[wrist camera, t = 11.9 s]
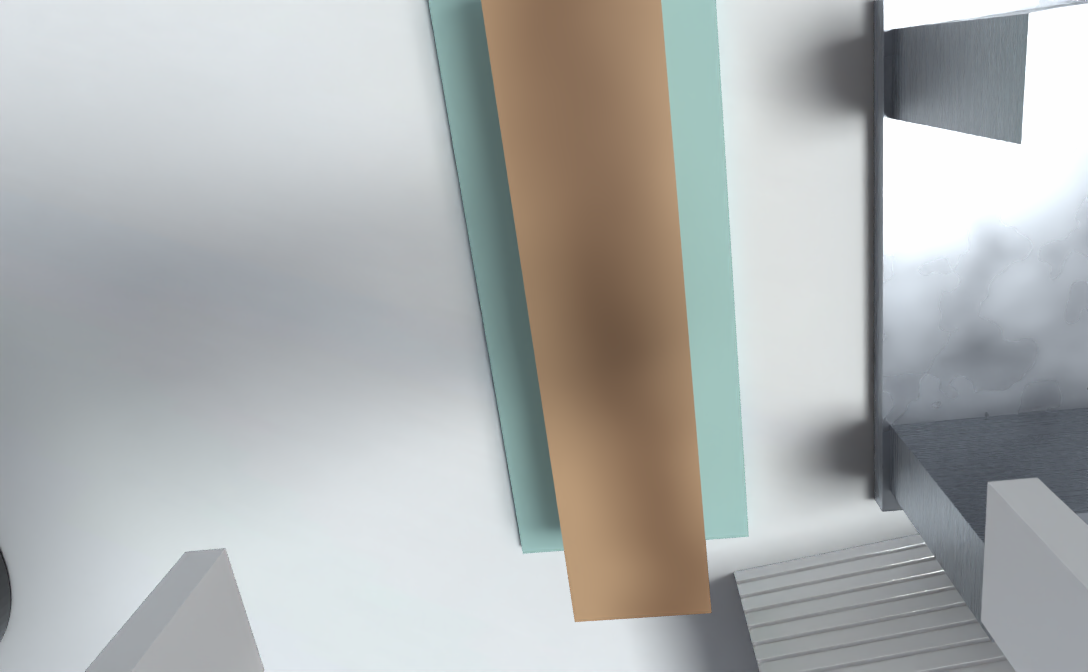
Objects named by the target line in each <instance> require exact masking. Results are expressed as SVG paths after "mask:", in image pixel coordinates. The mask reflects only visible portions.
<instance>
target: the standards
mask: <svg viewBox="0 0 1088 672" xmlns="http://www.w3.org/2000/svg"><path fill="white" fill-rule="evenodd" d="M1026 478H1038V479H1039V480H1041V481H1042V482H1043V483H1044V484H1045V485H1046V486H1047V487H1048V488H1049V489H1050V490H1051V491H1052V492H1053V493H1054V494H1055V495H1056V496H1057V497H1058V498H1060V499H1061V500H1062V501H1063V502H1064V503H1065V504H1066V505H1067V506H1068V507H1069V508H1070V509H1071V510H1072V511H1073V512H1074V513H1075V514H1076V515H1078V516H1079V517H1080V518H1081V519H1082V520H1083V521H1084V522H1085V523H1086V524H1087V525H1088V0H876V1H874V482H875V501H876V502H877V504H878V505H879V507H880V509H881V510H882V512H883V511H896V510H904V512H905V513H906V515H907V516H908V518H909V519H910V521H911V522H912V524H913V525H914V527H915V528H916V530H917V531H918V533H919V534H920V536H921V537H922V539H923V540H924V542H925V543H926V545H927V546H928V548H929V549H930V551H931V552H932V554H933V555H934V557H935V558H936V560H937V561H938V563H939V564H940V566H941V567H942V569H943V570H944V572H945V573H946V575H947V576H948V578H949V579H950V581H951V582H952V584H953V585H954V587H955V588H956V589H957V591H958V592H959V594H960V595H961V597H962V598H963V600H964V601H965V603H966V604H967V606H968V607H969V609H970V610H971V612H972V613H973V615H974V616H975V618H976V619H977V621H978V622H979V624H980V625H981V627H982V628H983V630H984V631H985V633H986V634H987V636H988V637H989V639H990V640H991V642H995V641H994V639H993V638H992V636H991V635H990V633H989V632H988V630H987V629H986V628H985V626H984V625H983V623H982V622H981V609H982V588H983V567H984V547H985V526H986V505H987V484H988V482H992V481H1003V480H1015V479H1026Z"/></svg>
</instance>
